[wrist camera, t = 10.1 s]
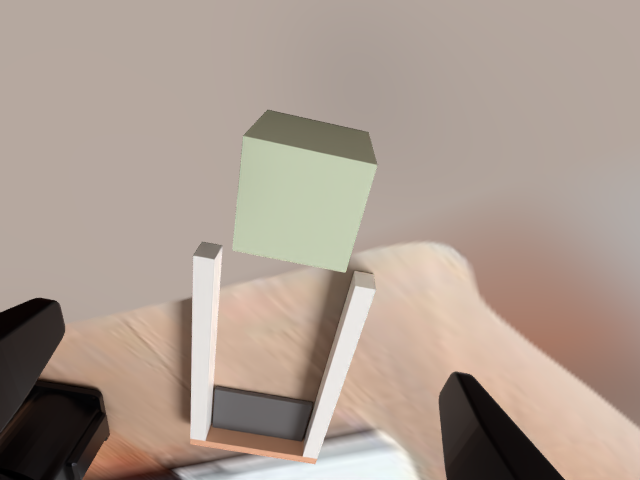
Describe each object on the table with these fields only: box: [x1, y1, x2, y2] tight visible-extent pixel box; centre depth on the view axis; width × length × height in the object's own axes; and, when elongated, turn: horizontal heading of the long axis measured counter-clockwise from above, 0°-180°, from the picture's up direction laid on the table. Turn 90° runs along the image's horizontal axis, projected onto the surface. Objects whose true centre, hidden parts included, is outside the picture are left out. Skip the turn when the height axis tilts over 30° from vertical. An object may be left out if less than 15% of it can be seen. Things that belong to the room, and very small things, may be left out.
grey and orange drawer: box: [190, 386, 317, 464], centre depth 29 cm, size 10×6×2 cm, turn 79°
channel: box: [191, 242, 376, 459], centre depth 25 cm, size 10×18×2 cm, turn 169°
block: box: [232, 110, 377, 273], centre depth 16 cm, size 5×5×5 cm
